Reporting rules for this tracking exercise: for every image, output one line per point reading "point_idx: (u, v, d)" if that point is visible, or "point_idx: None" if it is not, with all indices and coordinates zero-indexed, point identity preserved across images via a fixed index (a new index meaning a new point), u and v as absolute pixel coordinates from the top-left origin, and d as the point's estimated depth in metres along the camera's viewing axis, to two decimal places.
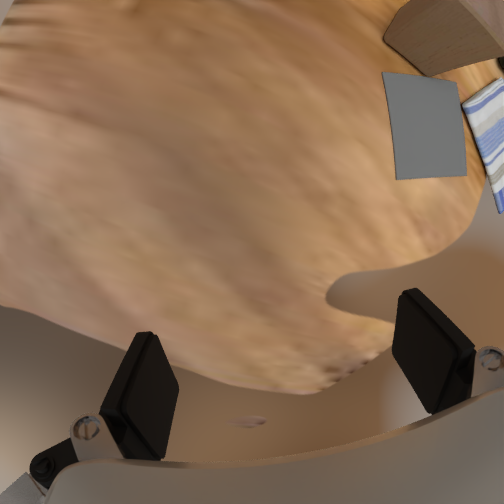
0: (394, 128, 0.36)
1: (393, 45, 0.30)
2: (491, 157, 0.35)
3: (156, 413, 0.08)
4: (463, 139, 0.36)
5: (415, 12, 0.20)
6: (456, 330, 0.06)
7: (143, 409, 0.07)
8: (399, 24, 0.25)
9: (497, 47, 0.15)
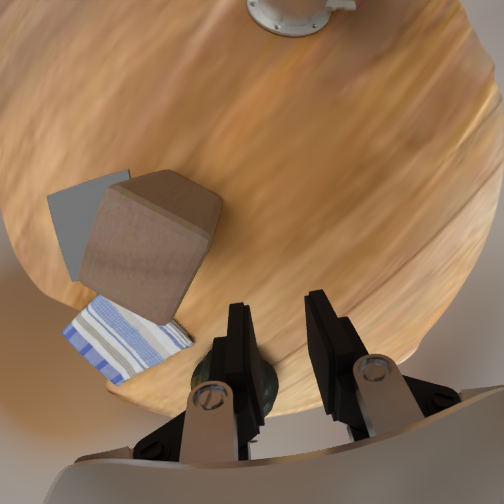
0: (80, 186, 0.38)
1: None
2: (94, 313, 0.44)
3: (257, 379, 0.09)
4: None
5: (149, 176, 0.28)
6: (341, 334, 0.08)
7: (254, 373, 0.08)
8: (158, 172, 0.33)
9: None
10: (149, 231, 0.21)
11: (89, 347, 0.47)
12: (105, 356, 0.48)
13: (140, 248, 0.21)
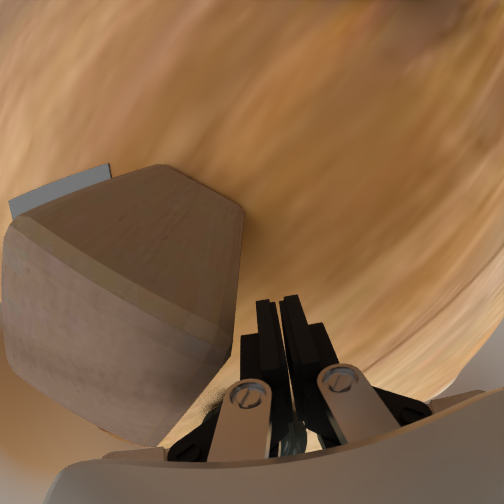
0: (46, 188, 0.26)
1: None
2: None
3: None
4: None
5: (120, 180, 0.16)
6: (309, 341, 0.08)
7: None
8: (144, 171, 0.20)
9: None
10: (92, 326, 0.08)
11: None
12: None
13: (82, 352, 0.09)
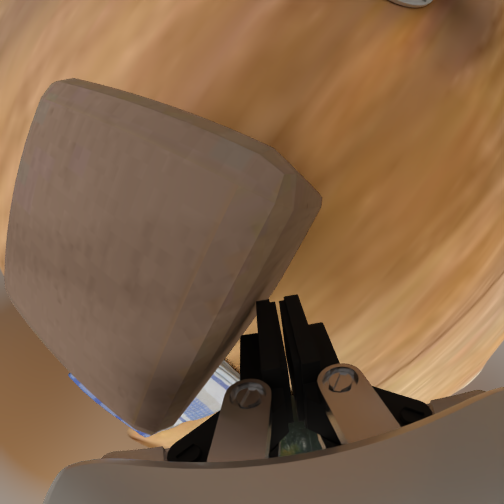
0: None
1: None
2: None
3: None
4: None
5: None
6: (309, 341, 0.08)
7: None
8: None
9: None
10: (95, 154, 0.06)
11: None
12: None
13: (74, 210, 0.07)
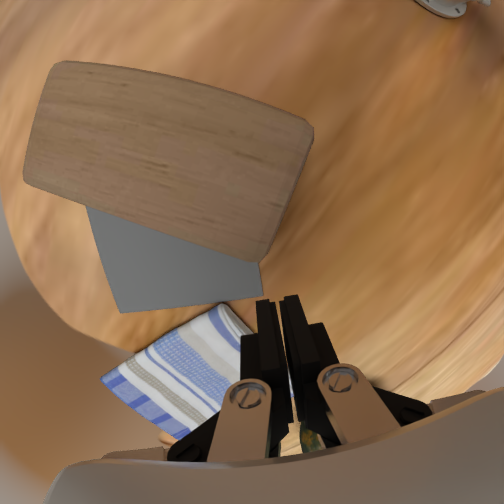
0: None
1: None
2: (158, 359, 0.31)
3: None
4: (169, 306, 0.30)
5: None
6: (309, 341, 0.08)
7: None
8: None
9: None
10: None
11: (145, 399, 0.34)
12: (168, 409, 0.35)
13: None
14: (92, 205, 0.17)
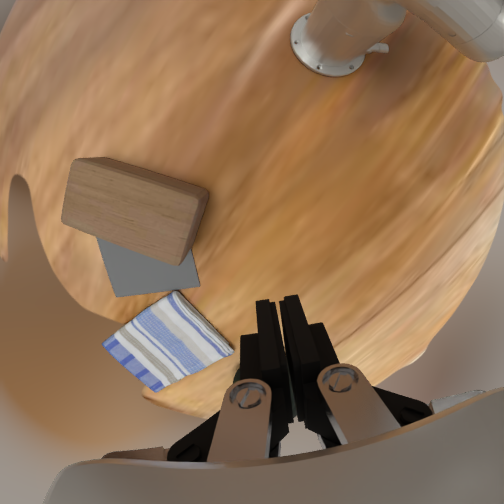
0: None
1: None
2: (139, 326, 0.50)
3: None
4: (145, 292, 0.49)
5: (148, 170, 0.41)
6: (309, 341, 0.08)
7: None
8: (174, 179, 0.42)
9: None
10: None
11: (131, 358, 0.53)
12: (146, 365, 0.53)
13: None
14: (100, 237, 0.35)
